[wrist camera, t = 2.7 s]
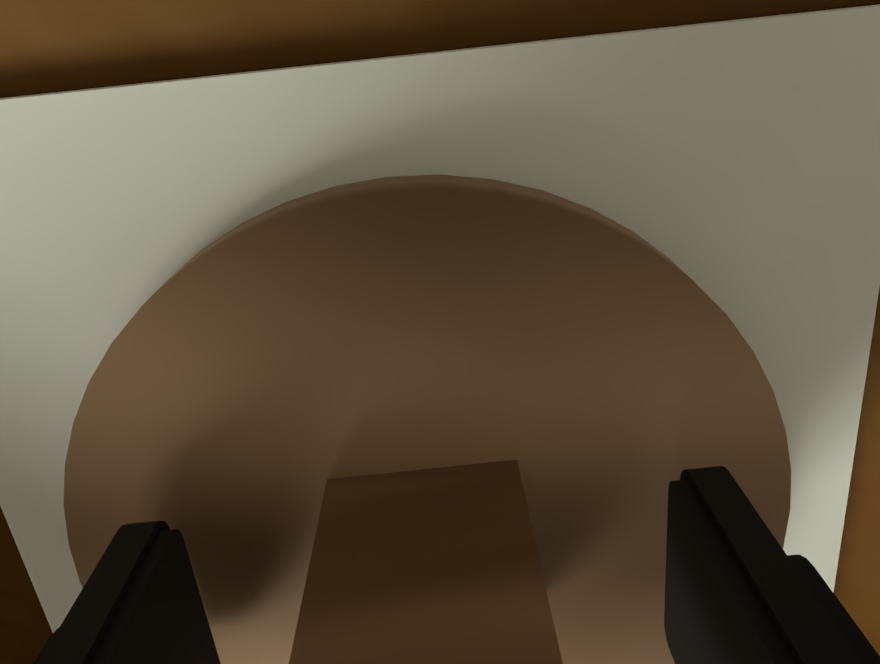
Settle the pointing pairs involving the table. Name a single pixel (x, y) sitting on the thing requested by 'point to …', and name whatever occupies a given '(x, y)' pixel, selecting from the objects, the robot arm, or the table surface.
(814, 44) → the mat
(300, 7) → the table surface
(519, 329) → the lid
